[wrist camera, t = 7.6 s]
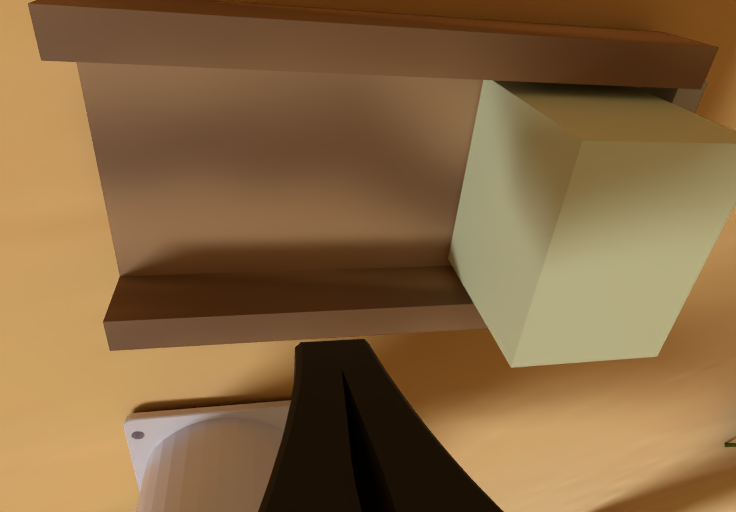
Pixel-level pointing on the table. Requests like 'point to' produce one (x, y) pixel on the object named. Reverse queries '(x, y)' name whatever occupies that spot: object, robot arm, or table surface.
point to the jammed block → (587, 217)
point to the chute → (306, 155)
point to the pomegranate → (730, 444)
